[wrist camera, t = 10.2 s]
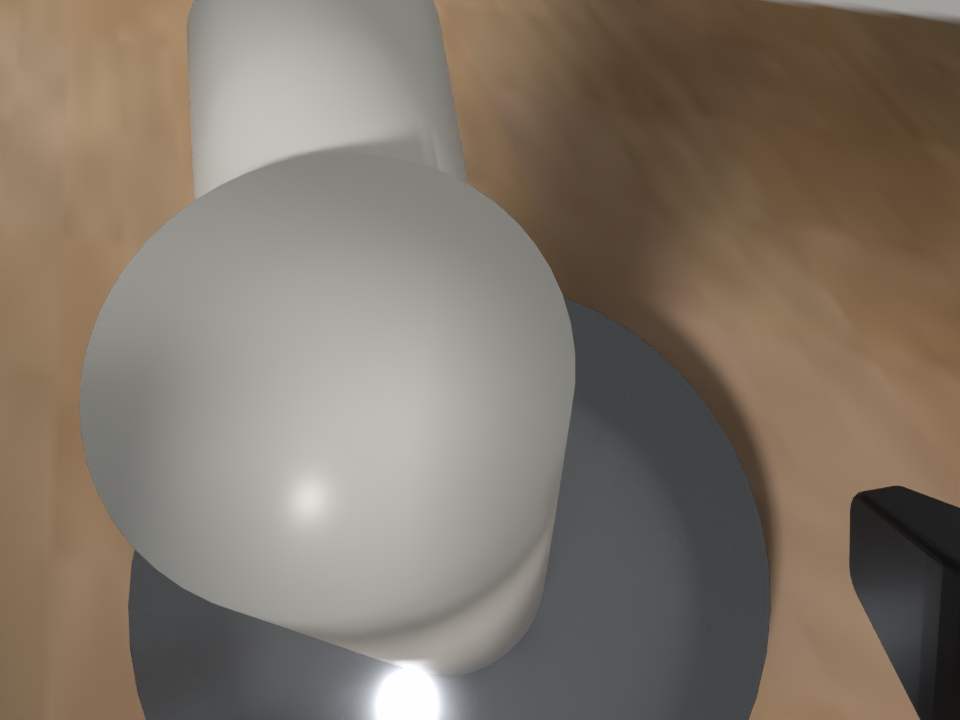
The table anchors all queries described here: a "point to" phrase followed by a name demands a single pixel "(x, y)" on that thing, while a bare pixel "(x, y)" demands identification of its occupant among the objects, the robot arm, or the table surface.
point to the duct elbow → (336, 350)
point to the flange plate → (567, 592)
